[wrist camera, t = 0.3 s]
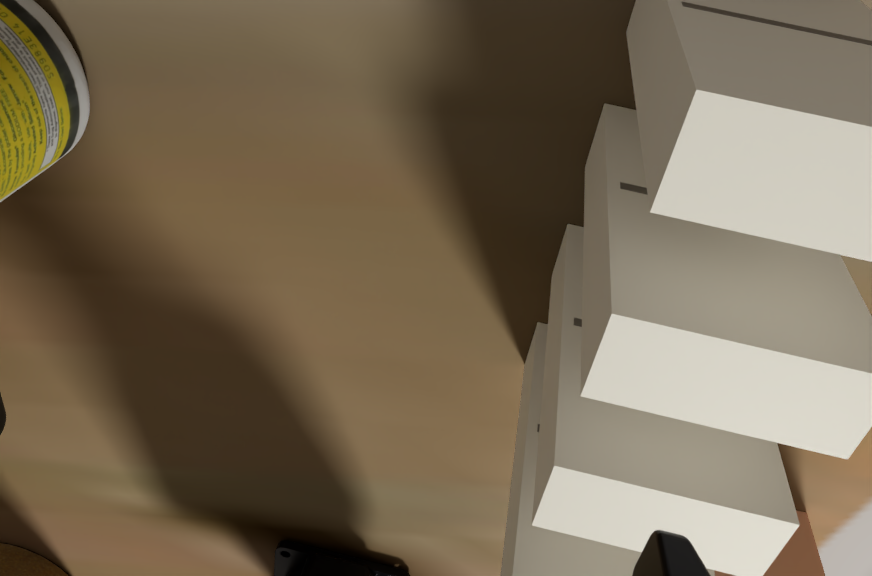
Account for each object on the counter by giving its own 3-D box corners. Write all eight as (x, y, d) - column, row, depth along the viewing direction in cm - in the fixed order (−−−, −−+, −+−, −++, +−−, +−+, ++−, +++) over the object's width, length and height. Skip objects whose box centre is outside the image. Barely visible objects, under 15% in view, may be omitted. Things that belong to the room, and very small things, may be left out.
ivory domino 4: (702, 310, 24) (758, 582, 16) (551, 275, 24) (531, 525, 16) (726, 258, 23) (800, 524, 15) (567, 223, 23) (554, 464, 15)
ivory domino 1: (661, 397, 26) (692, 672, 18) (524, 364, 27) (495, 622, 18) (681, 354, 25) (723, 629, 17) (537, 321, 25) (512, 577, 17)
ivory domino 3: (751, 204, 22) (846, 460, 14) (584, 167, 22) (580, 397, 14) (781, 140, 20) (905, 380, 12) (604, 102, 21) (611, 312, 13)
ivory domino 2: (814, 72, 19) (973, 286, 11) (625, 33, 20) (649, 213, 11) (851, -8, 18) (1062, 165, 10) (650, -49, 18) (696, 88, 10)
